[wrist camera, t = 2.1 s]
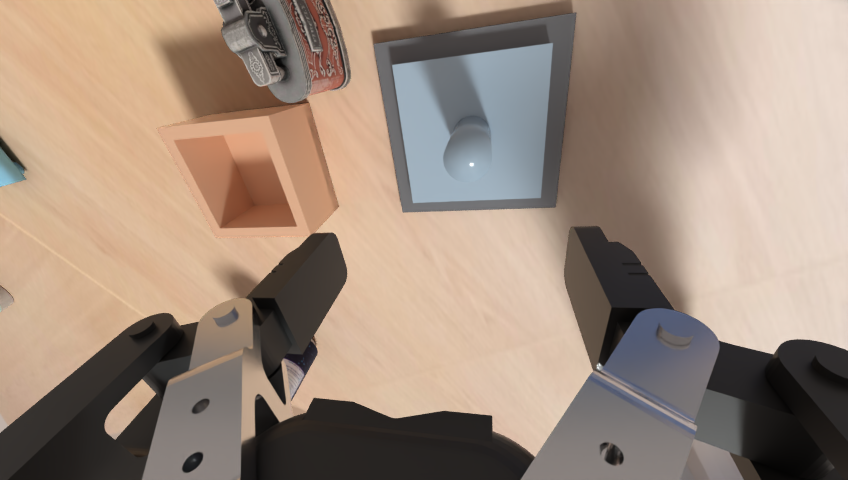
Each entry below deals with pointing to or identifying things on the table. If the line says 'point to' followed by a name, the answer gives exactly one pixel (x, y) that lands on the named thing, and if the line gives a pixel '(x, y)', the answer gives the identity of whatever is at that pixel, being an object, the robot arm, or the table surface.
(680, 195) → the table surface
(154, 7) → the table surface
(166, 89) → the table surface
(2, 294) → the coffee cup
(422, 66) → the lid
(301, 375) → the beverage can
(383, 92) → the mat
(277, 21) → the lighter
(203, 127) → the tan open box
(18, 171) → the teapot
